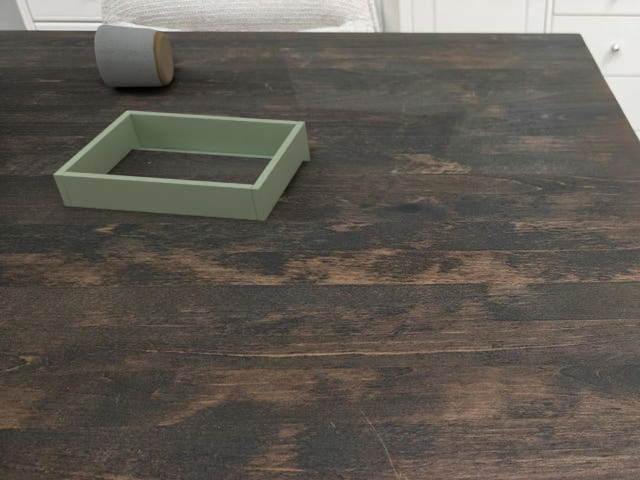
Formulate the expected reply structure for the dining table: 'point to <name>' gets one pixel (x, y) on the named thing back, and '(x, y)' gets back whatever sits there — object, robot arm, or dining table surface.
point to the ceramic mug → (133, 56)
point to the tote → (187, 137)
